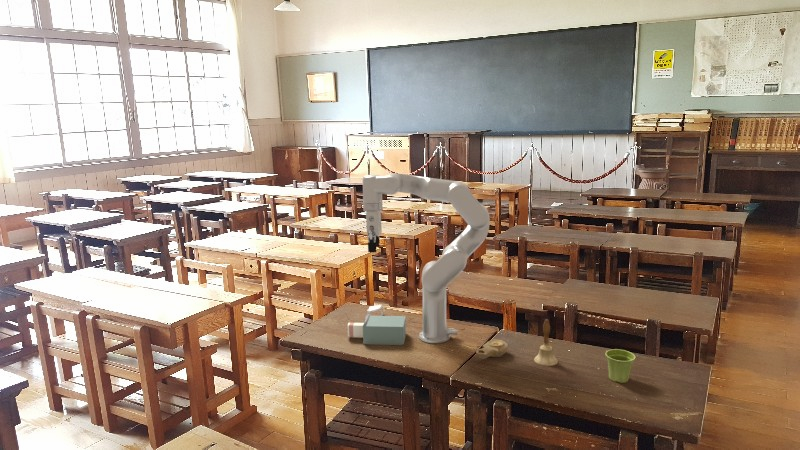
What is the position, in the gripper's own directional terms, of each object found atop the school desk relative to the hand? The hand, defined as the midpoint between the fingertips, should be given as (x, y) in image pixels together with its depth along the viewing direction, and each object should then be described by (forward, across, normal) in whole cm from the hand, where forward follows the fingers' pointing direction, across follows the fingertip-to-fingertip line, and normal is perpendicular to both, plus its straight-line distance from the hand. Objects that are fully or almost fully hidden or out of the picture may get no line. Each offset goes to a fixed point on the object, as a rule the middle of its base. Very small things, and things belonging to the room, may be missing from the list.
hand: (373, 249), depth 220 cm
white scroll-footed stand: (+37, +21, +4) cm, 43 cm away
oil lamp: (+37, -17, -46) cm, 61 cm away
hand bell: (+37, -20, -65) cm, 77 cm away
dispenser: (+37, -2, -4) cm, 37 cm away
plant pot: (+37, -33, -87) cm, 100 cm away
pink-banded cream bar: (+36, -2, +5) cm, 36 cm away
